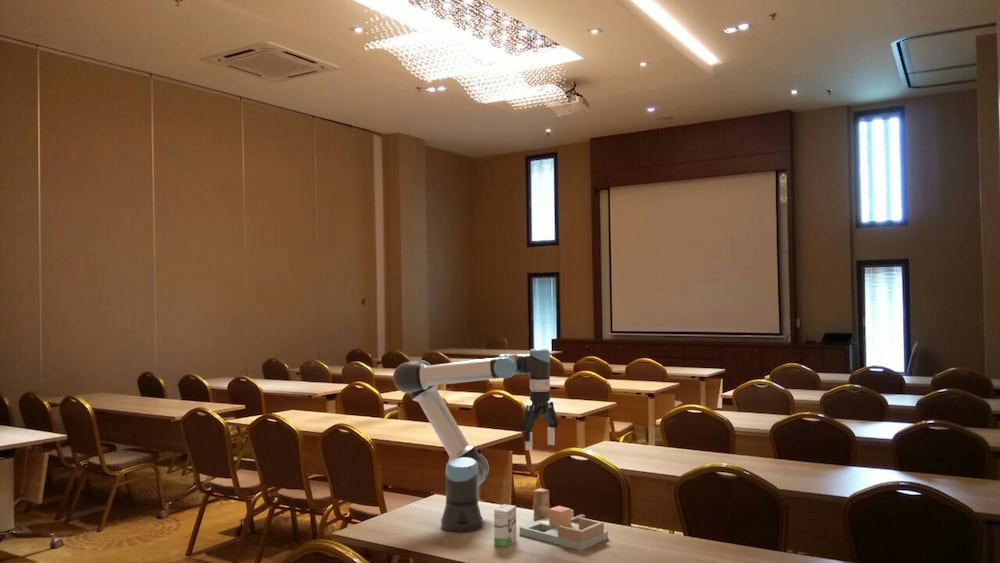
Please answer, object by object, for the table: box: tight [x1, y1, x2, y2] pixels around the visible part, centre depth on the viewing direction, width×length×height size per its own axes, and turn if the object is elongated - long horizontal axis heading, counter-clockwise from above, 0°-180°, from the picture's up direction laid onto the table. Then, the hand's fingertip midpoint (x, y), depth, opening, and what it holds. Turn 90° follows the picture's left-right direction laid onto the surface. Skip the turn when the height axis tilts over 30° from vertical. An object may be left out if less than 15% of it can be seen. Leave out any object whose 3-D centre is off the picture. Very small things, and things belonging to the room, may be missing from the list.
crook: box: [533, 488, 586, 524], centre depth 268 cm, size 18×9×11 cm, turn 48°
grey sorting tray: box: [519, 517, 609, 552], centre depth 250 cm, size 26×16×6 cm, turn 49°
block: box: [549, 505, 572, 527], centre depth 256 cm, size 6×6×6 cm
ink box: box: [493, 503, 517, 548], centre depth 244 cm, size 9×5×12 cm, turn 157°
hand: (540, 447), depth 271 cm, fingers open, 13 cm apart
